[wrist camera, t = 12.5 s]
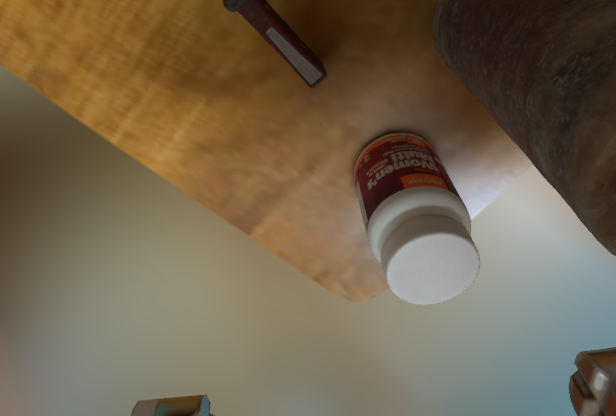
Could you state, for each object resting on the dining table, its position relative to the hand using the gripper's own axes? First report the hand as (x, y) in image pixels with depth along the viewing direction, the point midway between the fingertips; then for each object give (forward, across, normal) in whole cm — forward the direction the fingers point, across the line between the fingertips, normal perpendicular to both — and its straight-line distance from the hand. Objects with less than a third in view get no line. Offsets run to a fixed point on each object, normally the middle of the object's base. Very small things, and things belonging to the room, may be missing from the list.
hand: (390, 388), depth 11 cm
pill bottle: (+25, -4, +9) cm, 27 cm away
